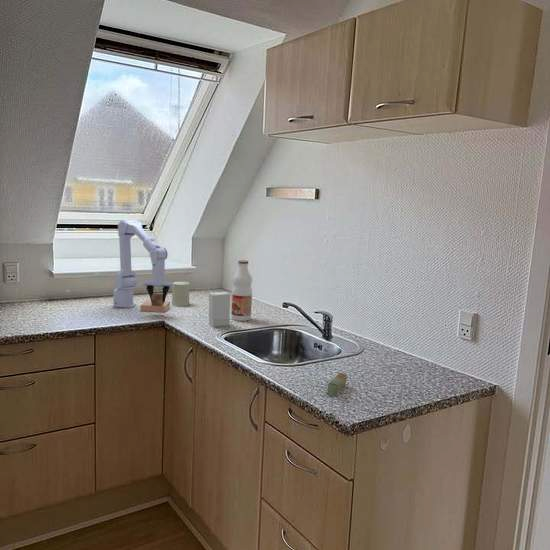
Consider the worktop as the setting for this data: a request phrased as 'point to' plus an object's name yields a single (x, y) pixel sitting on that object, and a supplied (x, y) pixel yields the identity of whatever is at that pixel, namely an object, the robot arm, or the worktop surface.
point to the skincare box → (219, 309)
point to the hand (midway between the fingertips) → (157, 301)
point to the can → (180, 294)
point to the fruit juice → (241, 293)
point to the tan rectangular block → (154, 307)
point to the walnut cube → (157, 300)
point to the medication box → (336, 384)
